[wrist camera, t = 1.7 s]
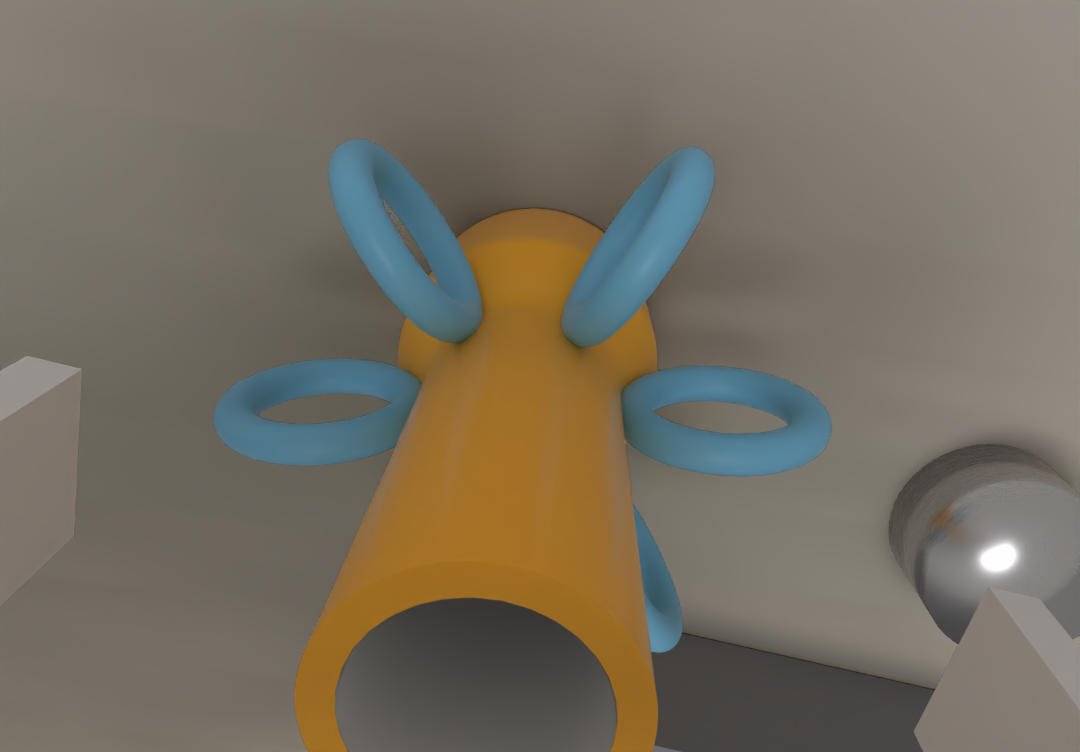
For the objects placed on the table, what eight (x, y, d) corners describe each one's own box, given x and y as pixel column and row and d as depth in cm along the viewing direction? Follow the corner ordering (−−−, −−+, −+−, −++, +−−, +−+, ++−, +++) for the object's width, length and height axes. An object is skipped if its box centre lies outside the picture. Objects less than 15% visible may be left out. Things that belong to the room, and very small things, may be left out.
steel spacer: (862, 571, 26) (896, 634, 23) (927, 425, 24) (972, 475, 22) (1018, 607, 26) (1070, 674, 24) (1094, 465, 25) (1161, 520, 22)
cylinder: (782, 116, 21) (1174, 255, 7) (743, 489, 25) (955, 1048, 11) (294, 111, 22) (-210, 233, 8) (327, 479, 26) (28, 1006, 12)
